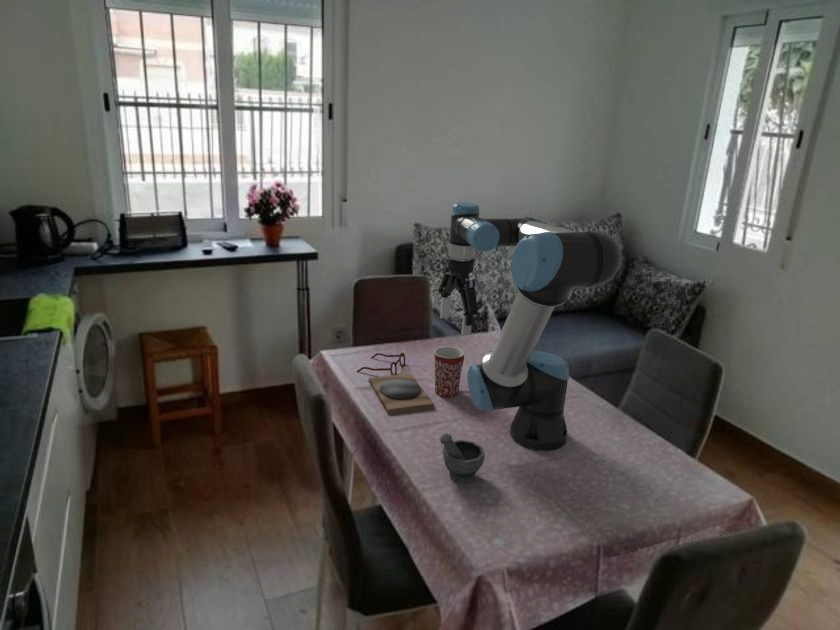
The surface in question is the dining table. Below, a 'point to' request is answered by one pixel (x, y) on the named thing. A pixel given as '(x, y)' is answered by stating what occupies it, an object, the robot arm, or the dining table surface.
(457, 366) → the mug
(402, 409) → the board
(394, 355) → the glasses
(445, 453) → the mortar and pestle
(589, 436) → the dining table surface
